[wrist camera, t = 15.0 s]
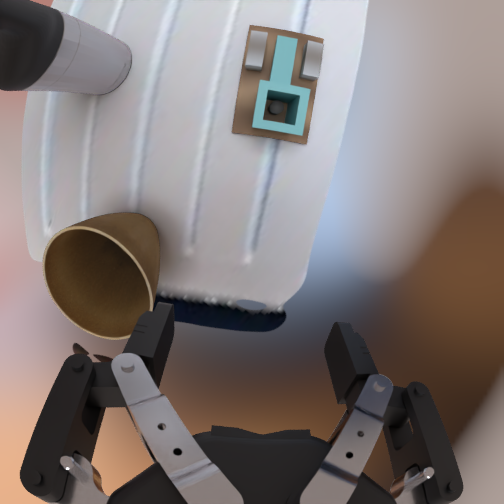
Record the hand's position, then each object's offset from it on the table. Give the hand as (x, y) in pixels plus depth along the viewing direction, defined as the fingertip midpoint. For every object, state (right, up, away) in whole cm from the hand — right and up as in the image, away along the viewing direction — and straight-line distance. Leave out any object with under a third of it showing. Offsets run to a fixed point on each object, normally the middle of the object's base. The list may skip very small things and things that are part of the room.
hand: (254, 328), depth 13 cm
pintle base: (+3, +26, +19) cm, 32 cm away
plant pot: (-18, +6, +28) cm, 34 cm away
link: (+3, +25, +18) cm, 31 cm away
